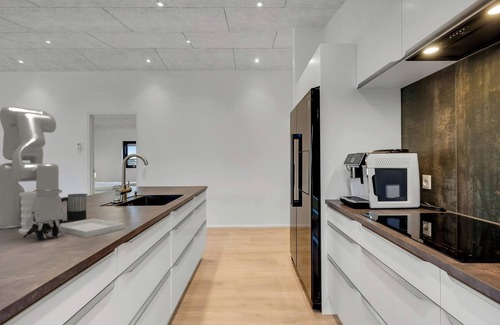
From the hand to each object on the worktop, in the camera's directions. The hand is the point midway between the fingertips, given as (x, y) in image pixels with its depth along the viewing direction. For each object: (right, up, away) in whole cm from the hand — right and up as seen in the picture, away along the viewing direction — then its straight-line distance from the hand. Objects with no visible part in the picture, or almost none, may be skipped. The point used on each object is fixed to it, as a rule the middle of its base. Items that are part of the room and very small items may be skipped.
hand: (47, 237), depth 115 cm
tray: (+8, -1, +16) cm, 18 cm away
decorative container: (-16, -1, +14) cm, 21 cm away
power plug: (-6, -1, +2) cm, 6 cm away
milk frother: (-9, -1, +31) cm, 32 cm away
